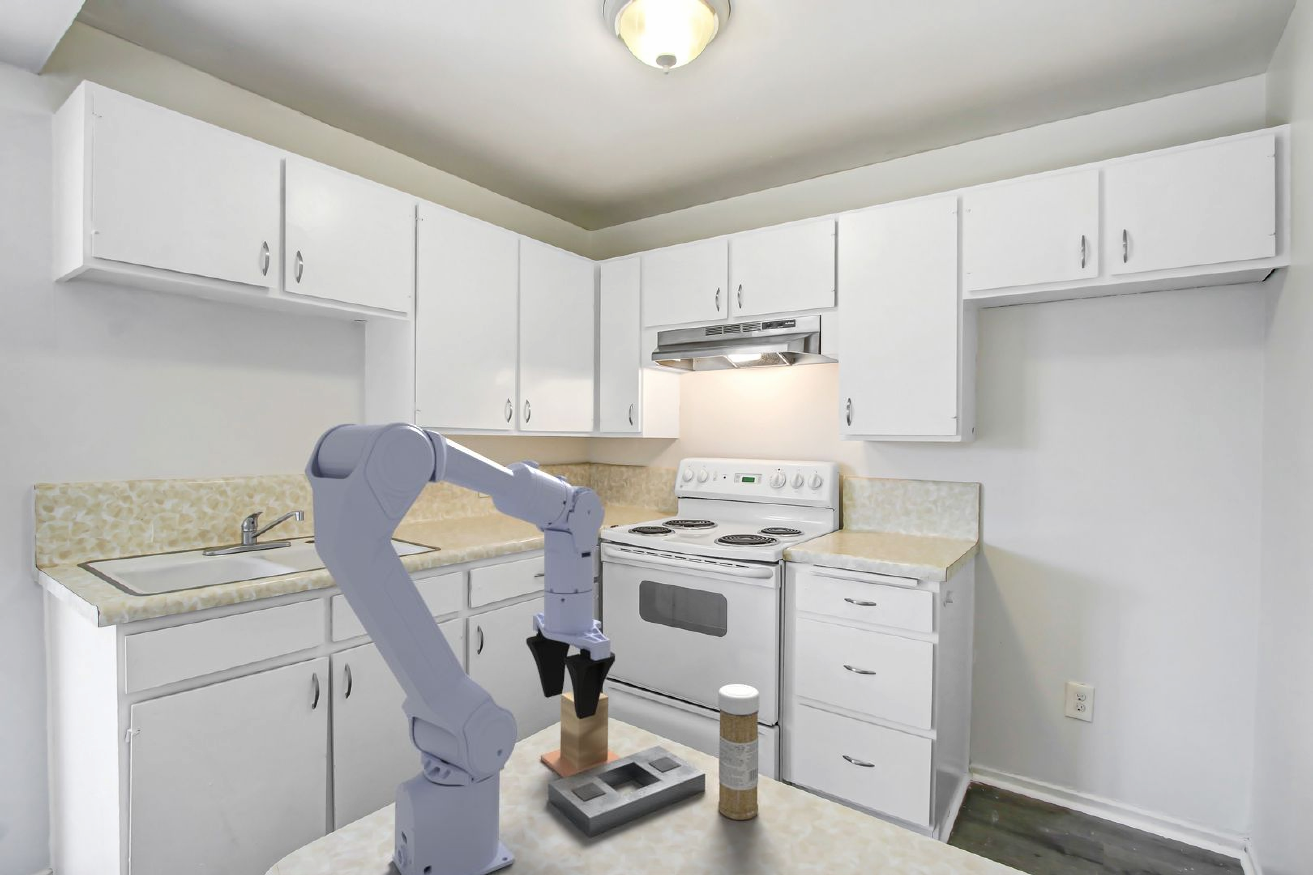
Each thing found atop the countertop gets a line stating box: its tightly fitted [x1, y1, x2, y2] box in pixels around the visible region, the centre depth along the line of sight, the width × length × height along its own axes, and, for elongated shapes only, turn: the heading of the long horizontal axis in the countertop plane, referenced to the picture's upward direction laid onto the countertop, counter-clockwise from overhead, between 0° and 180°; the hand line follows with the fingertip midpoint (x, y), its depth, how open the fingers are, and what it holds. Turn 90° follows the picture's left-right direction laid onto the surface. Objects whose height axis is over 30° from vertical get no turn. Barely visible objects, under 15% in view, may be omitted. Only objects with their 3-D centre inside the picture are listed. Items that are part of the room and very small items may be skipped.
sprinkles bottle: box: [717, 683, 760, 821], centre depth 74 cm, size 5×5×14 cm
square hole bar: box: [547, 745, 706, 838], centre depth 77 cm, size 16×9×2 cm, turn 127°
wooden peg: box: [559, 690, 609, 770], centre depth 85 cm, size 4×4×8 cm
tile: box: [540, 748, 622, 778], centre depth 85 cm, size 8×8×1 cm
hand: (569, 705), depth 77 cm, fingers open, 7 cm apart
